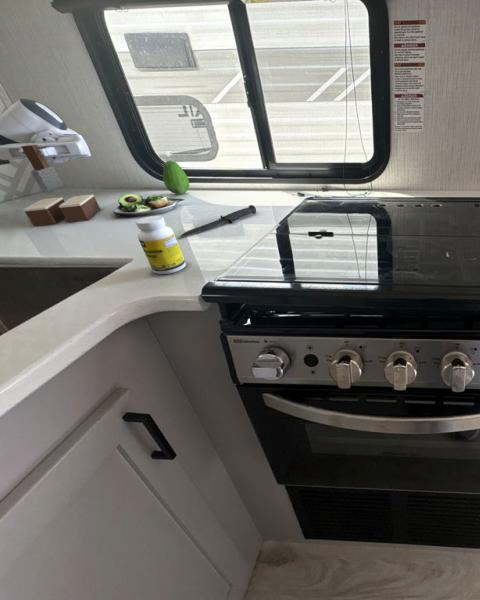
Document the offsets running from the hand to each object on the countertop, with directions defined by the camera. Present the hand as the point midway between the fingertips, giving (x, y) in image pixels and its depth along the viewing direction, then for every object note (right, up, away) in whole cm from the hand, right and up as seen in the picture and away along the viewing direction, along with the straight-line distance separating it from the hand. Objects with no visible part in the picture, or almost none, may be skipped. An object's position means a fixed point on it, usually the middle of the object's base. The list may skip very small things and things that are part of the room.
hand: (32, 153), depth 93 cm
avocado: (+20, -1, +33) cm, 39 cm away
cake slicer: (0, -8, +6) cm, 10 cm away
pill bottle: (+54, -35, -21) cm, 67 cm away
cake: (0, -15, +11) cm, 19 cm away
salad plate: (+20, -11, +17) cm, 28 cm away
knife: (+51, -19, +3) cm, 55 cm away
